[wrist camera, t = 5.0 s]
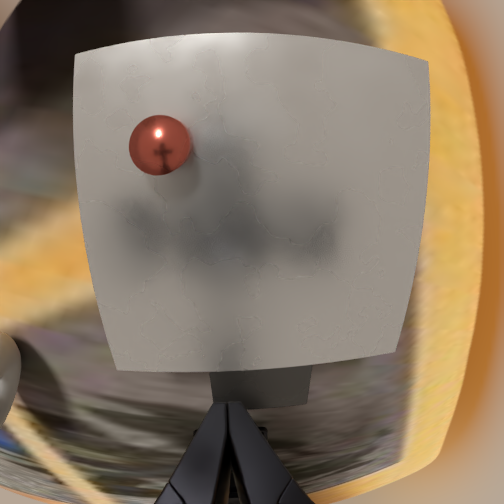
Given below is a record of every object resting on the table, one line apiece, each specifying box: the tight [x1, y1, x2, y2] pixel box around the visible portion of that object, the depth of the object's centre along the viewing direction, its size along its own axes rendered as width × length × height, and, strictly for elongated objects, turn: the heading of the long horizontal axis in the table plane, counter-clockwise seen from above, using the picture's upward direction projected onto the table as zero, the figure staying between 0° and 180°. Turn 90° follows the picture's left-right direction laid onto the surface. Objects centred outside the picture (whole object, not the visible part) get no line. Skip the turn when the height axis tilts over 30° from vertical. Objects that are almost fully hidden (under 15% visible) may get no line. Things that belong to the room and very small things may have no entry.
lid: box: [73, 33, 430, 410], centre depth 12 cm, size 17×14×2 cm
